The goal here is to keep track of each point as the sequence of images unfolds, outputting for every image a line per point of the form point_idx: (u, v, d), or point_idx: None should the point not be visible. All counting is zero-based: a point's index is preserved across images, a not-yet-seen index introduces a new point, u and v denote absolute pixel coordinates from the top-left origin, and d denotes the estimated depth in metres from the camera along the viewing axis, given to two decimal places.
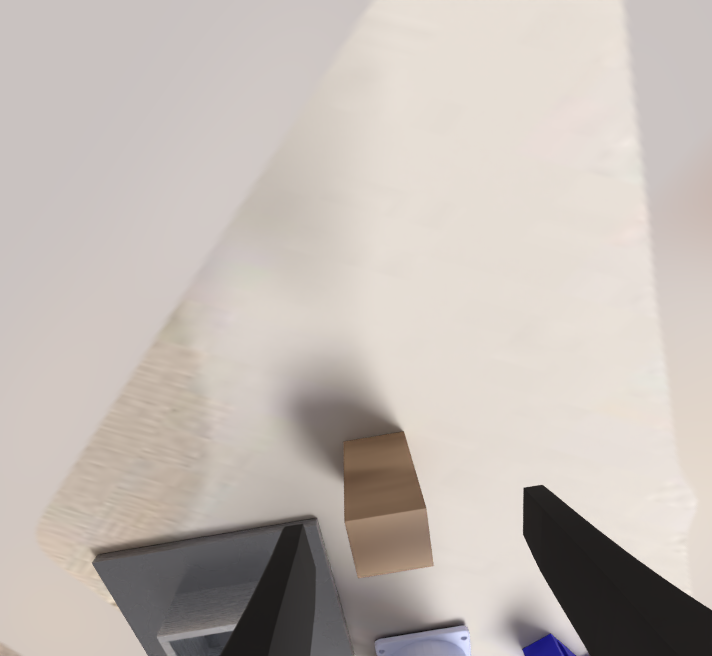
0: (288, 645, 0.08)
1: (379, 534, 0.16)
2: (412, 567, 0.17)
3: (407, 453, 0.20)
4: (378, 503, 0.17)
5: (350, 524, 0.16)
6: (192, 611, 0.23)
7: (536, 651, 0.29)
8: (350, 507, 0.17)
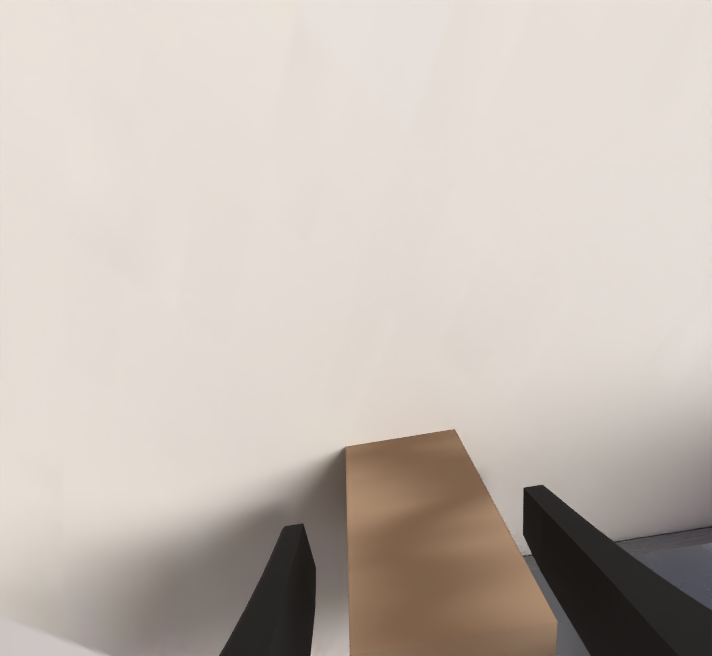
0: (288, 645, 0.08)
1: None
2: None
3: (347, 496, 0.10)
4: None
5: None
6: None
7: None
8: None
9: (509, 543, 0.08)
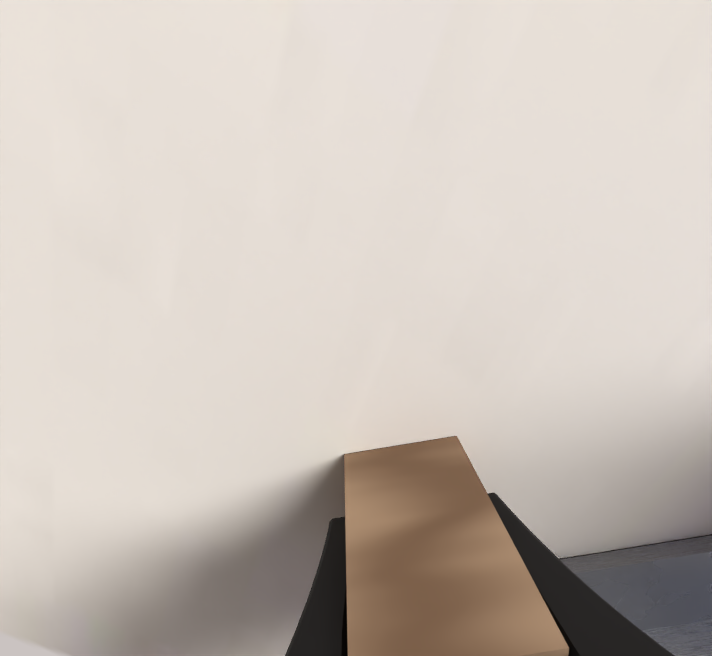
0: None
1: None
2: None
3: None
4: None
5: None
6: None
7: None
8: None
9: (516, 560, 0.07)
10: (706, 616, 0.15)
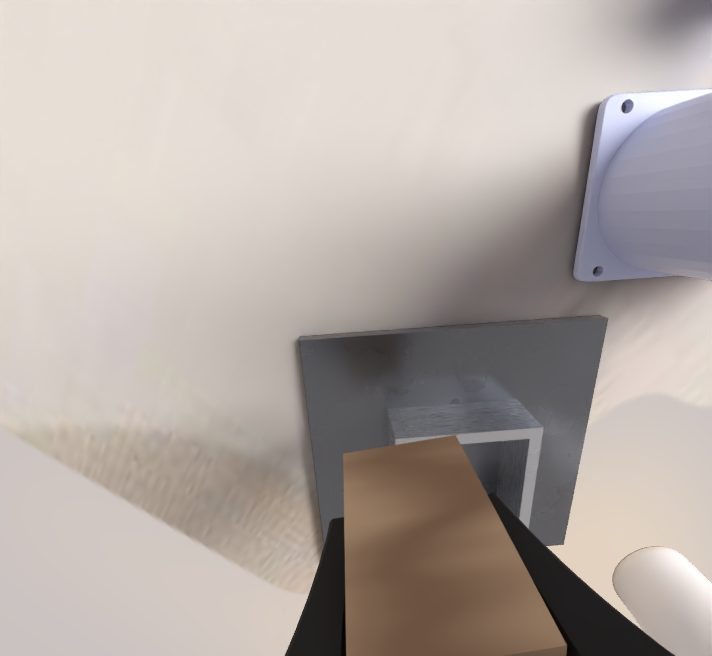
0: None
1: None
2: None
3: None
4: None
5: None
6: None
7: None
8: None
9: (514, 558, 0.07)
10: (457, 399, 0.18)
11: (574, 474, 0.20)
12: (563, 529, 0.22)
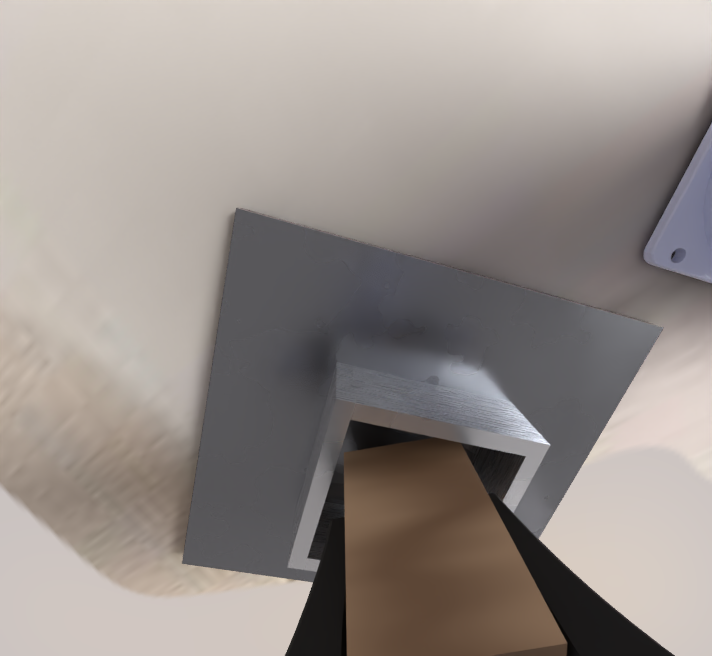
0: None
1: None
2: None
3: (345, 505, 0.10)
4: None
5: None
6: (302, 500, 0.13)
7: None
8: None
9: (514, 556, 0.07)
10: (435, 377, 0.13)
11: (543, 524, 0.15)
12: None
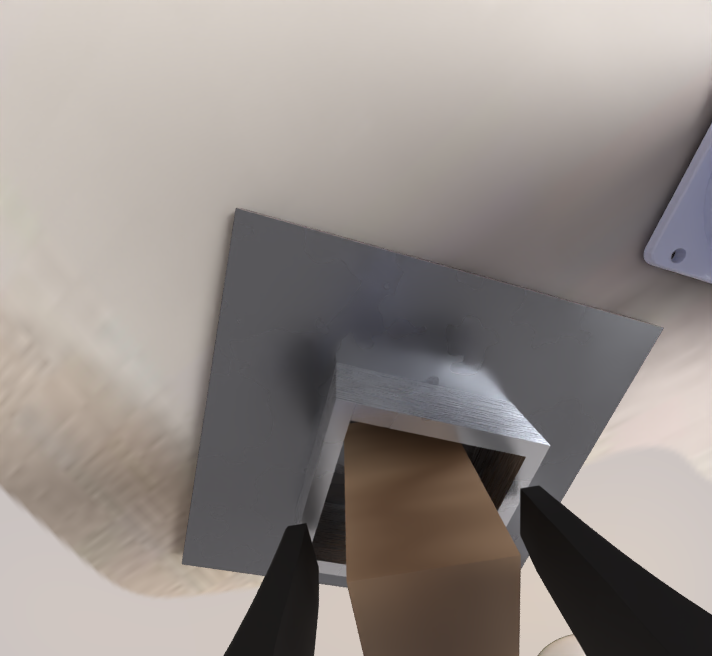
0: (292, 644, 0.08)
1: (408, 642, 0.08)
2: (514, 588, 0.08)
3: None
4: None
5: None
6: (302, 500, 0.13)
7: None
8: None
9: (485, 498, 0.09)
10: (435, 378, 0.13)
11: None
12: None
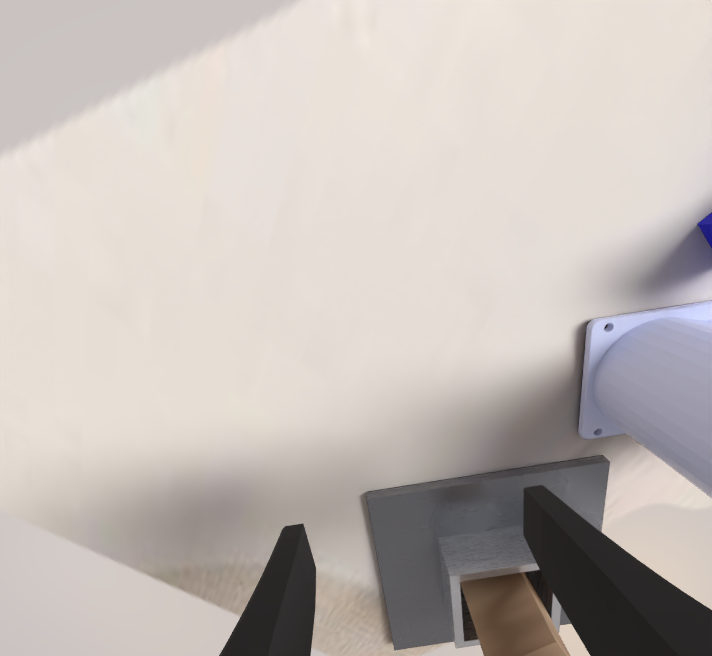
0: (288, 645, 0.08)
1: None
2: (561, 652, 0.18)
3: None
4: None
5: None
6: (448, 610, 0.23)
7: None
8: None
9: (536, 608, 0.19)
10: (492, 526, 0.23)
11: None
12: None
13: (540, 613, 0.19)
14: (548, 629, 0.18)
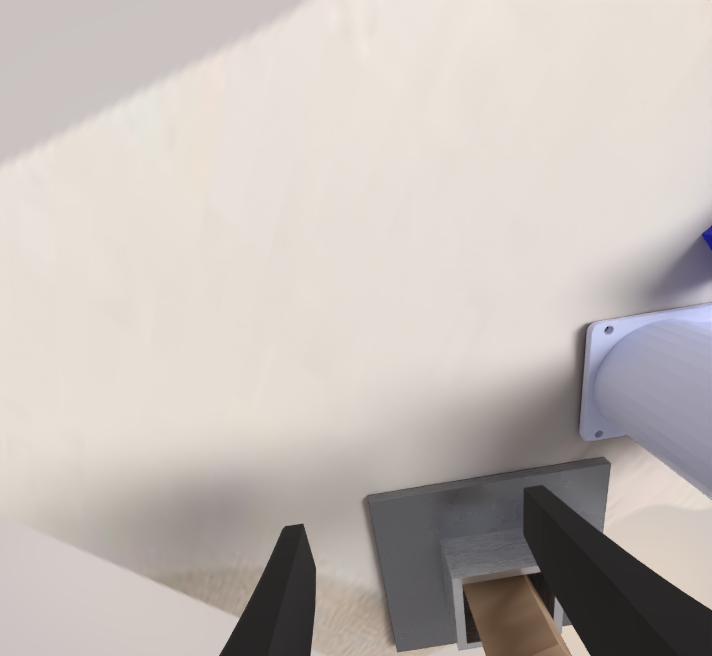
0: (288, 645, 0.08)
1: None
2: (563, 654, 0.18)
3: (467, 597, 0.22)
4: None
5: None
6: (451, 612, 0.23)
7: None
8: None
9: (539, 610, 0.19)
10: (494, 528, 0.23)
11: None
12: None
13: (542, 615, 0.19)
14: (550, 631, 0.18)
